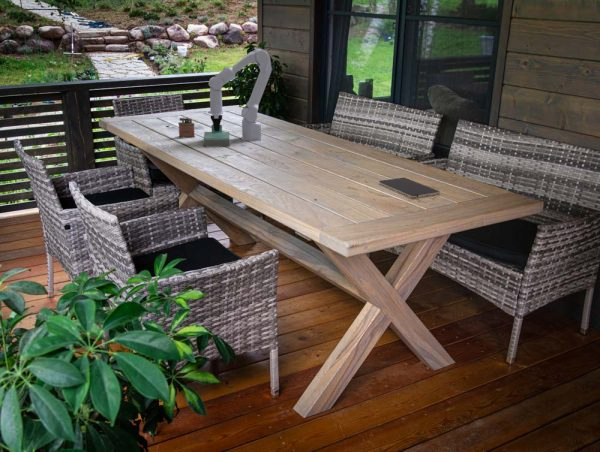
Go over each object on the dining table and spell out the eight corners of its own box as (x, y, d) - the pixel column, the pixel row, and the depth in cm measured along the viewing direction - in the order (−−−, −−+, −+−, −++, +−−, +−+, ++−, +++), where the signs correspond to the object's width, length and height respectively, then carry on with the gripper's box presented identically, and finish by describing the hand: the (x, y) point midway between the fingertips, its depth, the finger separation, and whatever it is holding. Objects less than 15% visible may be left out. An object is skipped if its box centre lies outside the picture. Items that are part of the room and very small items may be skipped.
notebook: (439, 195, 239) (404, 181, 256) (439, 191, 238) (404, 177, 256) (412, 199, 233) (378, 184, 250) (412, 195, 232) (378, 180, 250)
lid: (229, 135, 315) (229, 124, 313) (229, 141, 302) (229, 130, 300) (204, 135, 314) (204, 124, 312) (203, 142, 301) (203, 130, 299)
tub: (229, 140, 316) (229, 133, 315) (229, 147, 303) (229, 139, 302) (204, 140, 315) (204, 133, 314) (203, 147, 302) (203, 139, 301)
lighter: (195, 137, 322) (195, 117, 318) (194, 138, 318) (193, 118, 315) (180, 136, 322) (179, 116, 319) (178, 138, 319) (177, 118, 316)
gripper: (208, 100, 315) (208, 127, 319) (207, 105, 301) (208, 133, 306) (222, 100, 316) (223, 127, 320) (222, 105, 302) (223, 133, 307)
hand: (216, 130), depth 313 cm, fingers closed on lid
